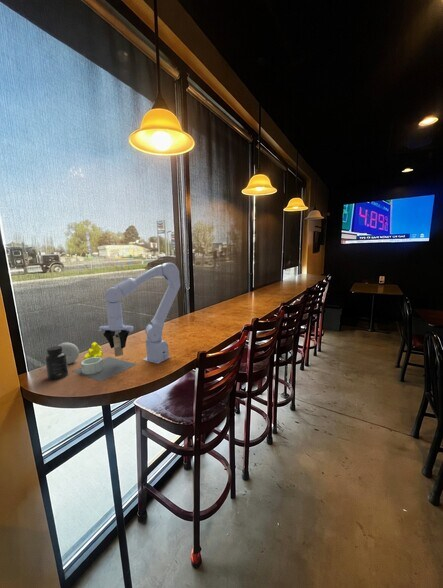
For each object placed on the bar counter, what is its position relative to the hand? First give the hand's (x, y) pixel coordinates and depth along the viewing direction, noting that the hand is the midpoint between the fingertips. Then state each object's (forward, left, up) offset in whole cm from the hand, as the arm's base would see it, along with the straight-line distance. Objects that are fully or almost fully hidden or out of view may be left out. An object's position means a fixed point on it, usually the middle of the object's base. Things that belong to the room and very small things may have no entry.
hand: (118, 347), depth 106 cm
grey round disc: (+22, +10, -8) cm, 25 cm away
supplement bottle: (+12, +19, -8) cm, 24 cm away
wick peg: (0, 0, -3) cm, 3 cm away
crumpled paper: (+18, 0, -8) cm, 20 cm away
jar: (+5, +9, -8) cm, 13 cm away
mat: (+3, +5, -8) cm, 10 cm away
